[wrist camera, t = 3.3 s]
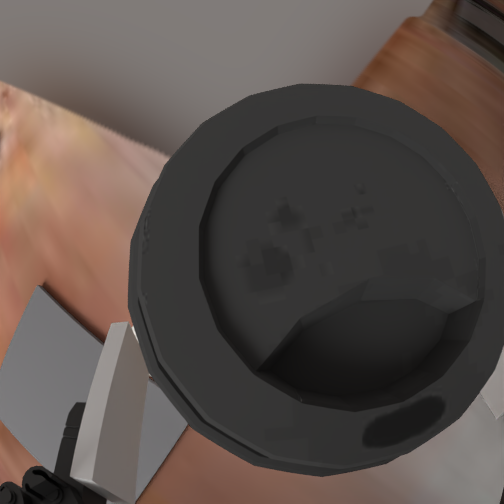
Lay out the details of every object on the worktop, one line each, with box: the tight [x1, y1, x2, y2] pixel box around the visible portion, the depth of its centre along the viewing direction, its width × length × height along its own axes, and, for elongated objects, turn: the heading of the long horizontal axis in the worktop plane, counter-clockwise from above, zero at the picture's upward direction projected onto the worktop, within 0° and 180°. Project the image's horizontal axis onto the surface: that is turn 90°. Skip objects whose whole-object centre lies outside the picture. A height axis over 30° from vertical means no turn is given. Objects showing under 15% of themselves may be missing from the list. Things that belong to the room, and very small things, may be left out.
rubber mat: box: [0, 285, 188, 504], centre depth 18 cm, size 16×14×1 cm
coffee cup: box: [128, 84, 504, 477], centre depth 13 cm, size 11×11×15 cm
